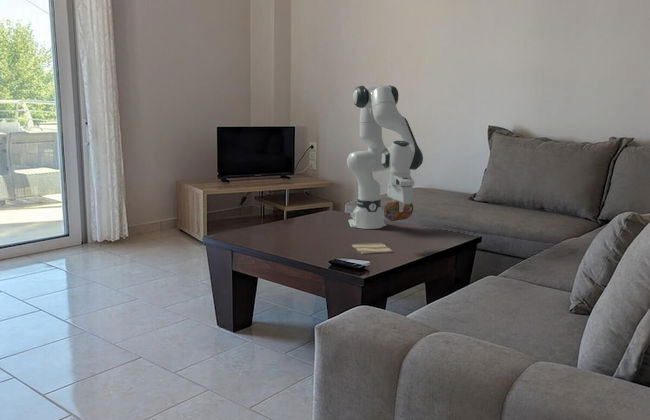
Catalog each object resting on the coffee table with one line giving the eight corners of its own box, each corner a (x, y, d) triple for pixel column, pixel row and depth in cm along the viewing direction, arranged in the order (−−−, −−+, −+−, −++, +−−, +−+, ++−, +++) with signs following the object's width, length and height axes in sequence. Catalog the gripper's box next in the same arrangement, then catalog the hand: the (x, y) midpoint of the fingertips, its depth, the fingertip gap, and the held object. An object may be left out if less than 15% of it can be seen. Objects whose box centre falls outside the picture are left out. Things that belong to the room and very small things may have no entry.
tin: (386, 222, 252) (388, 203, 250) (381, 220, 255) (383, 201, 252) (412, 218, 261) (414, 199, 258) (407, 216, 263) (410, 198, 261)
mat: (351, 245, 263) (351, 244, 263) (381, 244, 267) (381, 242, 267) (361, 254, 249) (361, 252, 249) (393, 252, 252) (393, 251, 252)
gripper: (384, 175, 263) (383, 206, 265) (401, 182, 243) (400, 215, 246) (397, 175, 264) (396, 205, 267) (416, 182, 245) (414, 215, 248)
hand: (398, 210), depth 256 cm, fingers open, 3 cm apart
